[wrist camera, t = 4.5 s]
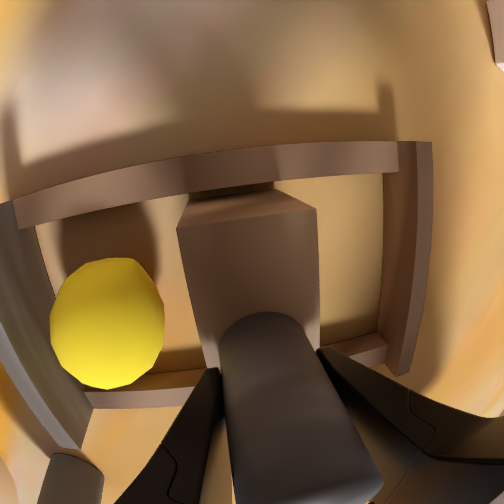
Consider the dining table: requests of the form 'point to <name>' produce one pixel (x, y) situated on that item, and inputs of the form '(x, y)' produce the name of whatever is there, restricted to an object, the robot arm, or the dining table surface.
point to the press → (187, 181)
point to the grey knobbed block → (271, 350)
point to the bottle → (71, 482)
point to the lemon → (107, 323)
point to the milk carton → (497, 29)
